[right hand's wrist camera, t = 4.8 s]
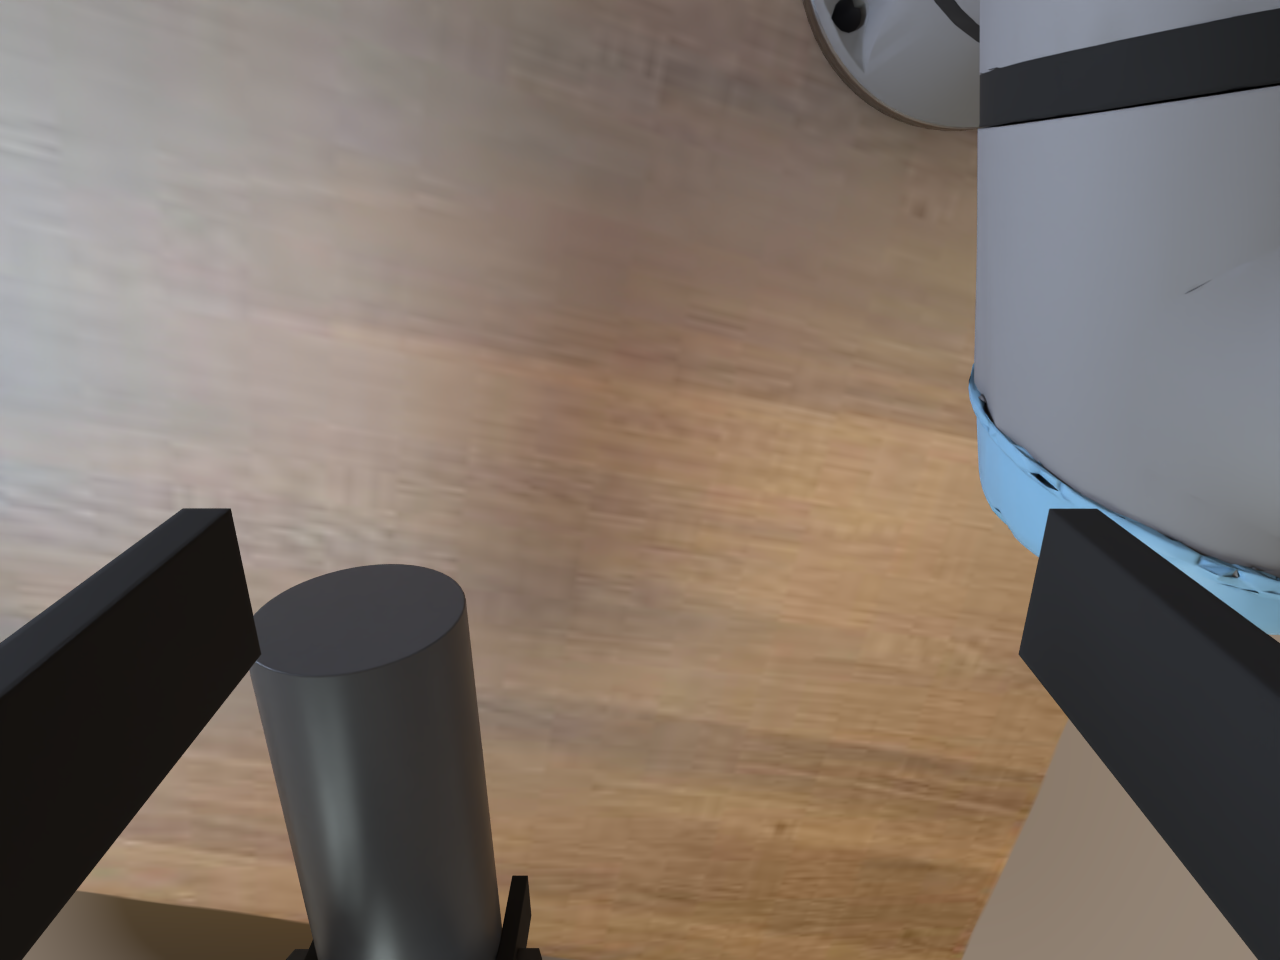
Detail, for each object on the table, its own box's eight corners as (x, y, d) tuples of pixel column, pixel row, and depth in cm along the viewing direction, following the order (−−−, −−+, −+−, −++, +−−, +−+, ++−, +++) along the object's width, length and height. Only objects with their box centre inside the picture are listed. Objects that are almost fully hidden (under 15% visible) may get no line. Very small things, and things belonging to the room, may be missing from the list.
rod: (297, 564, 33) (198, 676, 25) (483, 562, 32) (436, 675, 25) (372, 939, 41) (312, 1105, 33) (520, 939, 41) (493, 1105, 33)
